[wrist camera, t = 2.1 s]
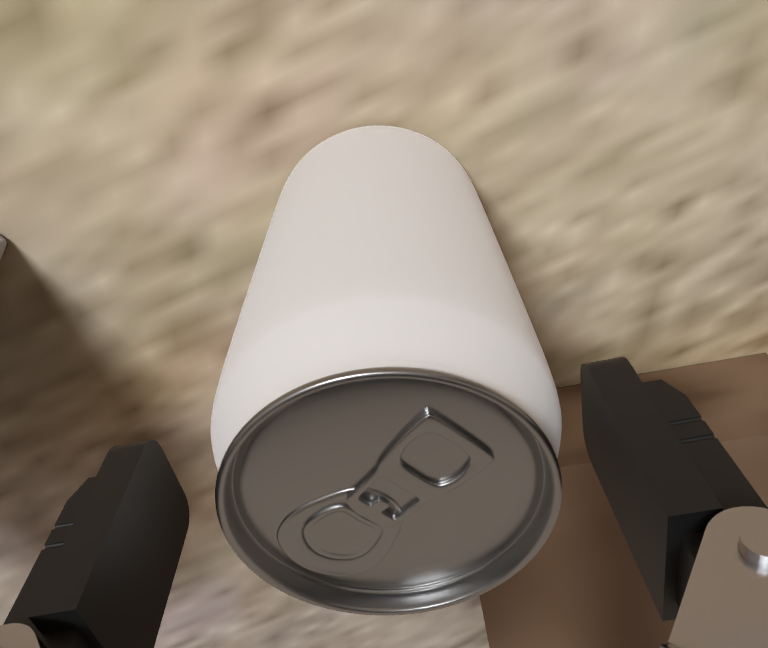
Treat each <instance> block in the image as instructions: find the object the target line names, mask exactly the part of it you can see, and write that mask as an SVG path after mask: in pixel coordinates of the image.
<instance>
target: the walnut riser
mask: <svg viewBox="0 0 768 648" xmlns="http://www.w3.org/2000/svg"><path fill="white" fill-rule="evenodd" d="M638 376H639V378H640V380H641V381H642V382H647V381H653V380H659V379H662V380H663V381H665V382H666V383H668V384H669V385H671V386H673V387H674V388H676V389H677V390H679V391H680V392H682V393H684V394H685V395H686V396H687V397H688V398H689V400H690V401H691V403H692V404H693V405H694V407H695V408H696V410H697V411H698V412H699V414H700V415H701V418H702V421H705V422H706V423H707V425H708V426H709V428H710V429H711V430H712V432H713V433H714V437H715V438H717V439H718V440H719V441H720V443H721V444H722V445H723V447H724V448H725V450H726V451H727V452H728V454H729V455H730V457H731V458H732V459H733V461H734V462H735V463H736V465H737V466H738V468H739V469H740V470H741V472H742V473H743V474H744V476H745V477H746V479H747V480H748V481H749V483H750V484H751V486H752V487H753V488H754V490H755V491H756V492H757V494H758V495H759V497H760V498H761V499H762V501H763V502H764V504H765V505H766V506H767V507H768V355H767V354H766V353H762V354H756V355H750V356H744V357H738V358H733V359H727V360H721V361H715V362H709V363H703V364H697V365H691V366H685V367H679V368H674V369H668V370H662V371H656V372H650V373H644V374H638ZM556 390H557V394H558V398H559V403H560V408H561V416H562V432H561V442H560V448H559V453H558V457H557V459H558V463H559V466H560V471H561V477H562V500H561V506H560V511H559V514H558V518H557V520H556V523H555V525H554V528H553V530H552V532H551V534H550V535H549V537H548V539H547V540H546V542H545V544H544V545H543V546H542V548H541V549H540V550H539V551H538V553H537V554H536V555H535V556H534V557H533V558H532V559H531V560H530V561H529V562H528V563H527V564H526V565H525V566H524V567H523V568H522V569H521V570H520V571H518V572H517V573H516V574H515V575H513V576H512V577H511V578H509V579H508V580H506V581H505V582H503V583H502V584H500V585H498V586H497V587H495V588H493V589H491V590H489V591H487V592H485V593H483V594H481V595H480V600H481V605H482V610H483V615H484V621H485V626H486V631H487V636H488V641H489V647H490V648H660V646H661V645H662V644H667V642H668V640H669V637H670V635H671V632H672V629H673V626H674V623H675V620H676V619H675V620H668V621H662V619H661V617H660V615H659V613H658V611H657V608H656V606H655V604H654V602H653V599H652V597H651V595H650V593H649V590H648V588H647V586H646V584H645V582H644V579H643V577H642V575H641V573H640V570H639V568H638V566H637V564H636V561H635V559H634V557H633V555H632V553H631V550H630V548H629V546H628V544H627V541H626V539H625V537H624V535H623V532H622V530H621V528H620V526H619V524H618V521H617V519H616V517H615V515H614V512H613V510H612V508H611V506H610V503H609V501H608V499H607V497H606V495H605V492H604V490H603V488H602V486H601V483H600V481H599V479H598V477H597V475H596V472H595V470H594V468H593V466H592V463H591V461H590V458H589V455H588V452H587V449H586V444H585V440H584V434H583V422H582V398H581V384H579V385H573V386H567V387H561V388H556Z"/></svg>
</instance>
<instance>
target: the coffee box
mask: <svg viewBox="0 0 768 648" xmlns="http://www.w3.org/2000/svg"><path fill="white" fill-rule="evenodd" d="M6 244H7V242H6V240H5V239H4V238H3V237H2V236H0V260H1V258H2V255H3V253H4V250H5V247H6Z"/></svg>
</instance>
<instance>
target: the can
mask: <svg viewBox="0 0 768 648" xmlns="http://www.w3.org/2000/svg"><path fill="white" fill-rule="evenodd" d="M561 432H562V416H561V408H560V403H559V398H558V394H557V390H556V386H555V383H554V380H553V377H552V374H551V371H550V369H549V366H548V363H547V360H546V358H545V355H544V353H543V350H542V348H541V345H540V343H539V340H538V338H537V335H536V333H535V330H534V328H533V325H532V323H531V321H530V318H529V316H528V313H527V311H526V308H525V306H524V303H523V301H522V299H521V296H520V294H519V291H518V289H517V287H516V284H515V282H514V279H513V277H512V274H511V272H510V270H509V267H508V265H507V262H506V260H505V258H504V255H503V253H502V251H501V248H500V246H499V243H498V241H497V239H496V236H495V234H494V232H493V229H492V227H491V224H490V222H489V220H488V217H487V215H486V213H485V210H484V208H483V206H482V203H481V201H480V199H479V197H478V194H477V192H476V190H475V188H474V186H473V184H472V182H471V180H470V178H469V176H468V174H467V173H466V171H465V170H464V168H463V167H462V166H461V164H460V163H459V162H458V161H457V160H456V158H455V157H454V156H453V155H452V154H451V153H450V152H448V151H447V150H446V149H445V148H444V147H442V146H441V145H440V144H438V143H437V142H435V141H433V140H432V139H430V138H428V137H426V136H424V135H422V134H420V133H417V132H414V131H411V130H408V129H404V128H399V127H393V126H364V127H358V128H354V129H350V130H346V131H343V132H341V133H338V134H336V135H334V136H332V137H330V138H328V139H326V140H324V141H323V142H321V143H319V144H318V145H317V146H315V147H314V148H313V149H311V150H310V151H309V152H308V153H307V154H306V155H305V156H304V157H303V158H302V159H301V160H300V161H299V162H298V164H297V165H296V166H295V168H294V169H293V171H292V172H291V174H290V175H289V177H288V179H287V181H286V183H285V185H284V187H283V189H282V192H281V194H280V197H279V200H278V202H277V205H276V208H275V211H274V214H273V217H272V220H271V223H270V226H269V229H268V231H267V234H266V237H265V240H264V243H263V246H262V249H261V252H260V255H259V258H258V261H257V264H256V267H255V270H254V273H253V276H252V279H251V282H250V285H249V288H248V292H247V295H246V298H245V301H244V304H243V307H242V310H241V313H240V316H239V319H238V322H237V325H236V328H235V331H234V334H233V338H232V341H231V344H230V347H229V350H228V353H227V356H226V360H225V363H224V366H223V369H222V373H221V376H220V380H219V383H218V387H217V391H216V394H215V399H214V404H213V410H212V418H211V442H212V449H213V454H214V459H215V463H216V466H217V469H218V475H217V480H216V488H215V502H216V511H217V515H218V519H219V523H220V526H221V528H222V531H223V533H224V535H225V537H226V539H227V541H228V543H229V544H230V546H231V547H232V549H233V550H234V552H235V553H236V554H237V556H238V557H239V558H240V559H241V560H242V561H243V562H244V563H245V565H247V566H248V567H249V568H250V569H251V570H252V571H253V572H254V573H255V574H256V575H258V576H259V577H260V578H262V579H263V580H264V581H266V582H267V583H269V584H270V585H272V586H273V587H275V588H277V589H279V590H280V591H282V592H284V593H286V594H288V595H290V596H292V597H295V598H297V599H299V600H302V601H305V602H307V603H310V604H313V605H316V606H320V607H324V608H327V609H332V610H336V611H341V612H347V613H355V614H365V615H403V614H413V613H421V612H427V611H432V610H437V609H441V608H445V607H449V606H452V605H455V604H459V603H461V602H464V601H467V600H470V599H472V598H475V597H477V596H479V595H481V594H483V593H485V592H487V591H489V590H491V589H493V588H495V587H497V586H498V585H500V584H502V583H503V582H505V581H506V580H508V579H509V578H511V577H512V576H513V575H515V574H516V573H517V572H518V571H520V570H521V569H522V568H523V567H524V566H525V565H526V564H527V563H528V562H529V561H530V560H531V559H532V558H533V557H534V556H535V555H536V554H537V553H538V551H539V550H540V549H541V548H542V546H543V545H544V544H545V542H546V540H547V539H548V537H549V535H550V534H551V532H552V530H553V528H554V525H555V523H556V520H557V518H558V514H559V511H560V506H561V500H562V477H561V471H560V466H559V463H558V459H557V457H558V453H559V448H560V442H561Z"/></svg>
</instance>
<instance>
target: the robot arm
mask: <svg viewBox="0 0 768 648" xmlns="http://www.w3.org/2000/svg"><path fill="white" fill-rule="evenodd" d="M581 398H582V422H583V434H584V440H585V444H586V449H587V452H588V455H589V458H590V461H591V463H592V466H593V468H594V470H595V472H596V475H597V477H598V479H599V481H600V483H601V486H602V488H603V490H604V492H605V495H606V497H607V499H608V501H609V503H610V506H611V508H612V510H613V512H614V515H615V517H616V519H617V521H618V524H619V526H620V528H621V530H622V532H623V535H624V537H625V539H626V541H627V544H628V546H629V548H630V550H631V553H632V555H633V557H634V559H635V561H636V564H637V566H638V568H639V570H640V573H641V575H642V577H643V579H644V582H645V584H646V586H647V588H648V590H649V593H650V595H651V597H652V599H653V602H654V604H655V606H656V608H657V611H658V613H659V615H660V617H661V619H662V621H668V620H675V619H676V620H675V623H674V626H673V629H672V632H671V635H670V637H669V640H668V642H667V644H662V645H661V646H660V648H768V507H767V506H766V505H765V504H764V502H763V501H762V499H761V498H760V497H759V495H758V494H757V492H756V491H755V490H754V488H753V487H752V486H751V484H750V483H749V481H748V480H747V479H746V477H745V476H744V474H743V473H742V472H741V470H740V469H739V468H738V466H737V465H736V463H735V462H734V461H733V459H732V458H731V457H730V455H729V454H728V452H727V451H726V450H725V448H724V447H723V445H722V444H721V443H720V441H719V440H718V439H717V438H715V437H714V433H713V432H712V430H711V429H710V428H709V426H708V425H707V423H706V422H705V421H702V418H701V415H700V414H699V412H698V411H697V410H696V408H695V407H694V405H693V404H692V403H691V401H690V400H689V398H688V397H687V396H686V395H685V394H684V393H682V392H680V391H679V390H677V389H676V388H674V387H673V386H671V385H669V384H668V383H666V382H665V381H663V380H662V379H659V380H653V381H647V382H642V381H641V380H640V378H639V376H638V375H637V373H636V372H635V370H634V369H633V367H632V366H631V364H630V363H629V361H628V360H627V359H626V358H625V357H619V358H613V359H608V360H602V361H596V362H591V363H585V364H582V366H581ZM188 526H189V507H188V502H187V498H186V496H185V493H184V491H183V489H182V487H181V485H180V483H179V481H178V479H177V477H176V475H175V473H174V471H173V469H172V467H171V466H170V464H169V462H168V460H167V458H166V456H165V454H164V452H163V450H162V448H161V446H160V445H159V443H158V442H157V441H155V440H147V441H141V442H136V443H130V444H125V445H119V446H114V447H112V448H111V449H110V450H109V452H108V454H107V456H106V458H105V460H104V462H103V464H102V466H101V468H100V470H99V472H98V474H97V476H96V477H93V478H88V479H87V480H86V481H85V483H84V484H83V485H82V486H81V487H80V488H79V489H78V490H77V491H76V492H75V493H74V494H73V495H72V496H71V497H70V499H69V500H68V501H67V502H66V504H65V506H64V508H63V510H62V512H61V514H60V516H59V518H58V520H57V522H56V524H55V529H54V530H52V531H51V533H50V535H49V537H48V539H47V541H46V543H45V549H44V550H42V551H41V553H40V555H39V557H38V559H37V560H36V562H35V564H34V566H33V568H32V570H31V572H30V574H29V576H28V578H27V580H26V582H25V584H24V586H23V588H22V589H21V591H20V593H19V595H18V597H17V599H16V601H15V603H14V605H13V607H12V609H11V611H10V613H9V615H8V617H7V619H6V620H5V622H4V624H3V625H2V626H0V648H154V645H155V642H156V638H157V635H158V631H159V628H160V624H161V621H162V617H163V614H164V610H165V607H166V603H167V600H168V596H169V593H170V589H171V586H172V582H173V579H174V575H175V572H176V569H177V565H178V562H179V558H180V555H181V551H182V548H183V544H184V541H185V537H186V534H187V530H188Z"/></svg>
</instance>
